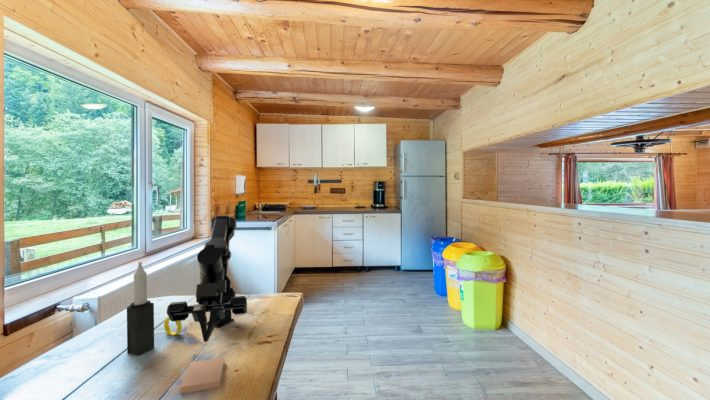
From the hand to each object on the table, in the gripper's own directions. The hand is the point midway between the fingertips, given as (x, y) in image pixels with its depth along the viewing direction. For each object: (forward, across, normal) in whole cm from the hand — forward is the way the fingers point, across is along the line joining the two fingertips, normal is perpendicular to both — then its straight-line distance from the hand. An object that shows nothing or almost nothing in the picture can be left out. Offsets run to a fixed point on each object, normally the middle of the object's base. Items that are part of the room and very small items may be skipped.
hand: (205, 341), depth 74 cm
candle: (-6, -19, +17) cm, 26 cm away
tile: (+7, 0, +3) cm, 8 cm away
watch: (-12, -13, +23) cm, 29 cm away
